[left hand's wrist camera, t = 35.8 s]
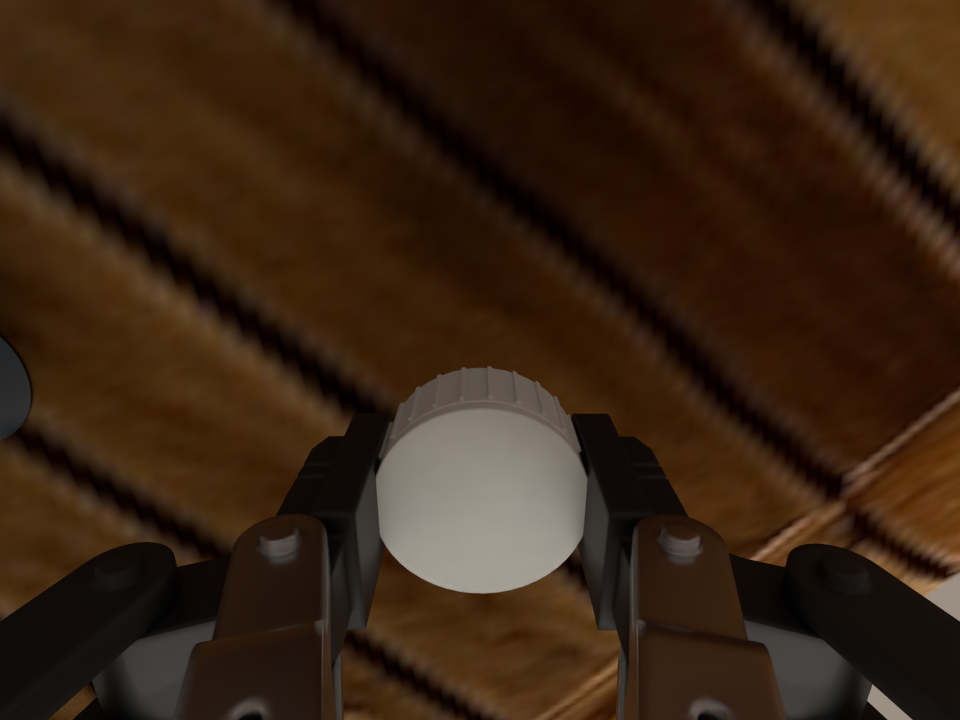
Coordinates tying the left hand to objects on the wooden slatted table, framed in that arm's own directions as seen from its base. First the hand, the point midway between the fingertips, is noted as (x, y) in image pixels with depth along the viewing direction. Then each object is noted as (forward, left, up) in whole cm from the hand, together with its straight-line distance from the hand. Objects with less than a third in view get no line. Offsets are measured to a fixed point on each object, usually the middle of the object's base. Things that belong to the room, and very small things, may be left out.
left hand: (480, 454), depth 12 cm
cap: (0, 0, +2) cm, 2 cm away
